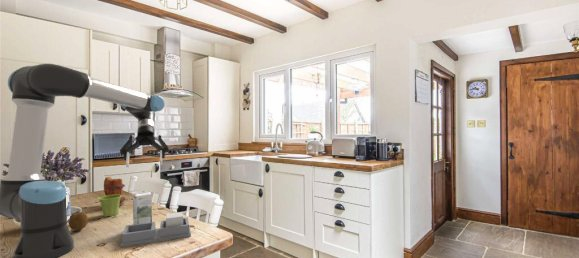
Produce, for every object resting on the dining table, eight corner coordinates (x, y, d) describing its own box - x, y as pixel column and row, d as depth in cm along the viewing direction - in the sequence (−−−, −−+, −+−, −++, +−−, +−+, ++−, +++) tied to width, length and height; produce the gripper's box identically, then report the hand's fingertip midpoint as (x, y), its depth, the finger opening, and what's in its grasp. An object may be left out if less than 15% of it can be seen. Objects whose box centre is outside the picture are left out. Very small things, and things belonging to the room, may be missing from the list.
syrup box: (148, 225, 121) (147, 190, 121) (152, 228, 117) (151, 193, 117) (133, 228, 118) (132, 193, 118) (137, 232, 113) (136, 195, 113)
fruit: (90, 227, 120) (89, 208, 120) (84, 232, 114) (84, 212, 114) (72, 229, 119) (72, 209, 118) (66, 234, 113) (65, 214, 112)
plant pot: (104, 219, 131) (104, 200, 131) (95, 216, 136) (94, 197, 136) (125, 213, 138) (125, 195, 138) (116, 210, 144) (115, 193, 144)
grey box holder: (120, 247, 99) (119, 226, 99) (125, 236, 109) (124, 217, 109) (190, 236, 108) (190, 217, 108) (189, 227, 118) (188, 209, 118)
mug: (128, 205, 153) (127, 177, 153) (112, 209, 147) (111, 179, 146) (114, 202, 161) (113, 175, 161) (98, 205, 154) (97, 177, 154)
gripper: (173, 134, 150) (174, 167, 136) (118, 136, 140) (113, 171, 127) (173, 124, 145) (174, 157, 131) (115, 125, 135) (110, 160, 122)
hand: (144, 164), depth 129 cm, fingers open, 13 cm apart
